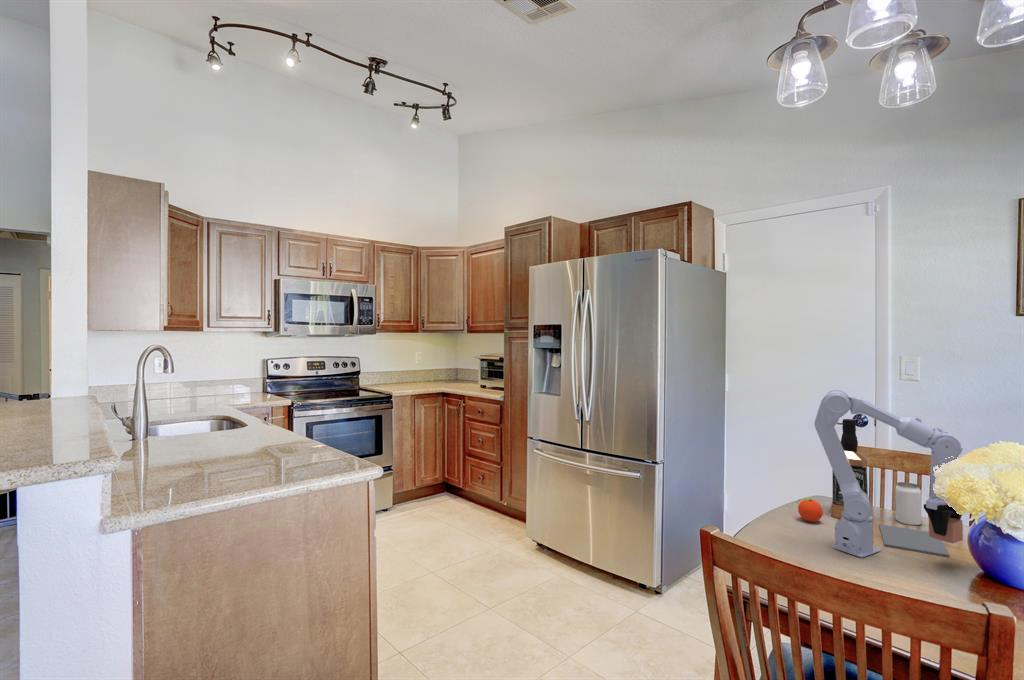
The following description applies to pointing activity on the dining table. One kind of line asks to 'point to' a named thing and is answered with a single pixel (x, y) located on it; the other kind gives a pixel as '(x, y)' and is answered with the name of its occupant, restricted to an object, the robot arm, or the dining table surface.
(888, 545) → the slate mat
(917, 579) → the dining table surface
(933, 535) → the brick cube
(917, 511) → the can
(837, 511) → the whiskey bottle
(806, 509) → the clementine
